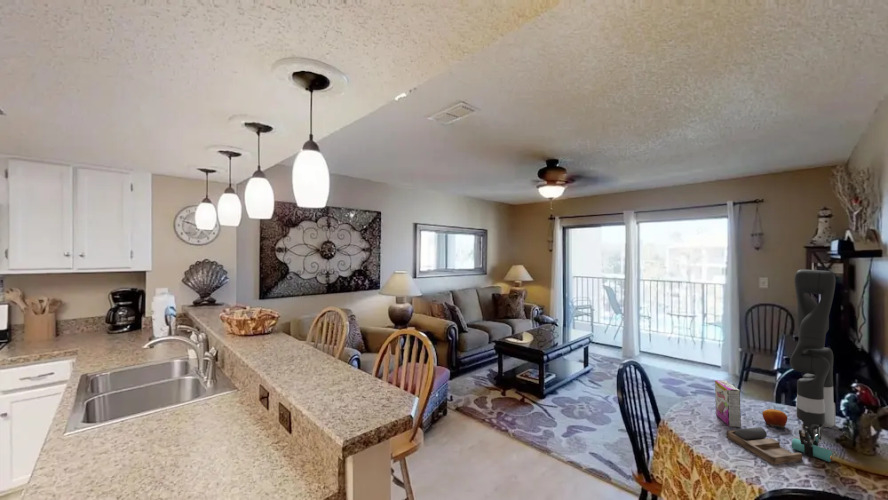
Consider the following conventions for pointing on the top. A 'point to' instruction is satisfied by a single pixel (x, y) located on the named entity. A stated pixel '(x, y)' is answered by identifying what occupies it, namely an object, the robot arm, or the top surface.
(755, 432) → the gray rounded cylinder
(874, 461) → the top surface
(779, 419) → the fruit
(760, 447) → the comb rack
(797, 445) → the teal rod
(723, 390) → the candy bar box
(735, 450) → the top surface
